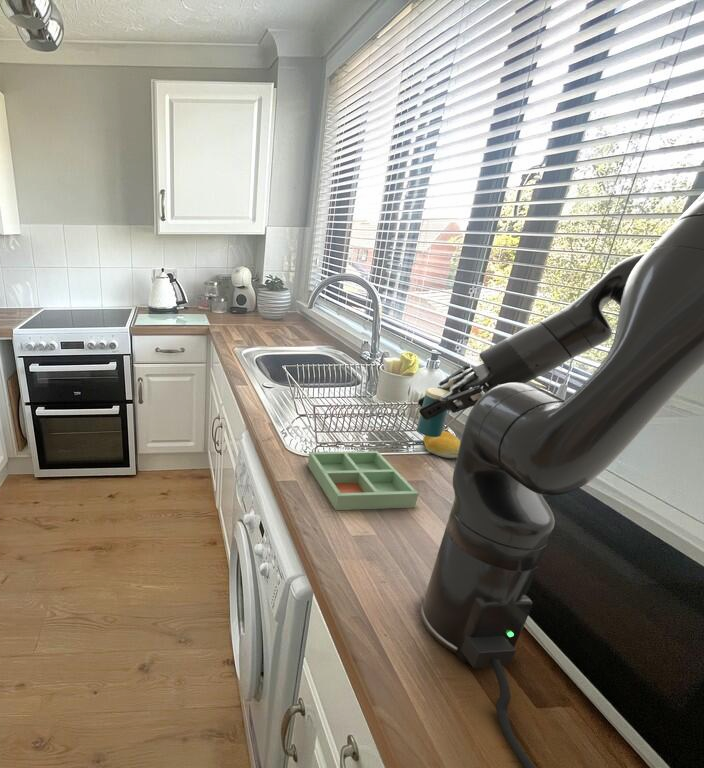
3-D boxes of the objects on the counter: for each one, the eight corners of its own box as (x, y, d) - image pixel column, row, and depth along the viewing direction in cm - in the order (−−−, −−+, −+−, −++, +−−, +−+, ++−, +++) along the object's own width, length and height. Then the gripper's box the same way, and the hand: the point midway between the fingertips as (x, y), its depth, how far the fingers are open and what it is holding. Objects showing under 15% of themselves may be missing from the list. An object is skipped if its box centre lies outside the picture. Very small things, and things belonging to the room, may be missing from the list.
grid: (415, 507, 77) (418, 493, 76) (335, 510, 76) (338, 495, 75) (374, 463, 92) (377, 450, 91) (307, 465, 90) (309, 452, 89)
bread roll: (428, 456, 95) (431, 441, 94) (419, 438, 103) (423, 424, 102) (468, 462, 93) (473, 447, 91) (456, 444, 101) (460, 429, 99)
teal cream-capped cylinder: (445, 437, 74) (457, 396, 71) (424, 437, 74) (435, 396, 71) (432, 426, 78) (442, 387, 75) (412, 427, 78) (421, 387, 75)
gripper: (551, 389, 60) (437, 443, 69) (526, 363, 72) (431, 411, 81) (518, 349, 60) (408, 408, 69) (499, 329, 72) (407, 382, 81)
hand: (421, 409), depth 75 cm, fingers closed on teal cream-capped cylinder, 4 cm apart
